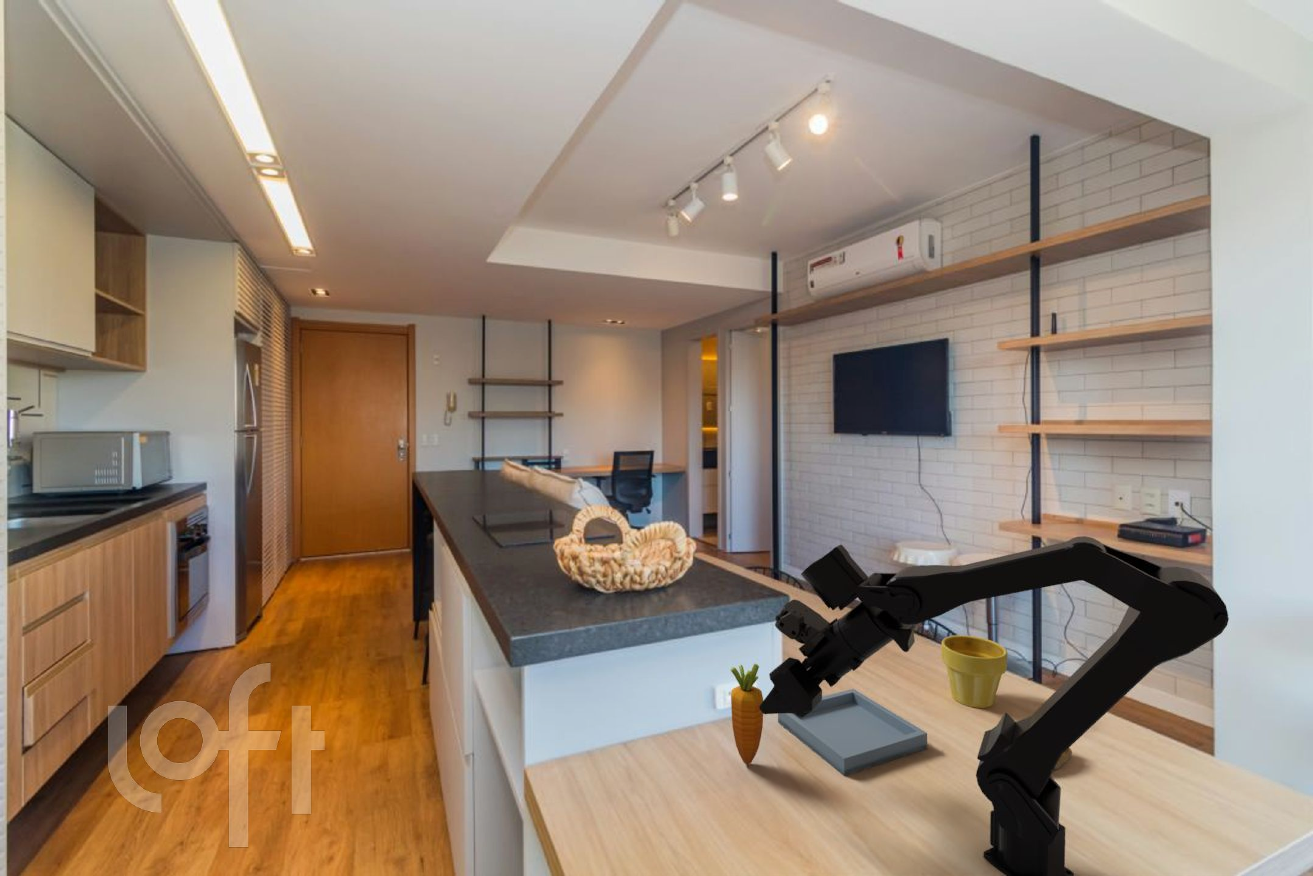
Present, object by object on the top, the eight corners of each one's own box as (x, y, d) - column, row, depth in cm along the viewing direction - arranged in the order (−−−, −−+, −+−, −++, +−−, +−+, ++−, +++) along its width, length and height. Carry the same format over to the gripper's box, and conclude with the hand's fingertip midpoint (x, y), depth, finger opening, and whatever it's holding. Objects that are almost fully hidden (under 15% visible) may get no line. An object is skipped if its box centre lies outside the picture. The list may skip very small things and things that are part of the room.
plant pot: (1014, 717, 100) (1015, 660, 99) (947, 710, 102) (948, 654, 102) (996, 689, 110) (997, 637, 109) (935, 683, 112) (936, 632, 112)
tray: (927, 749, 91) (927, 733, 91) (844, 775, 84) (844, 758, 84) (853, 702, 105) (853, 688, 105) (778, 722, 99) (778, 707, 99)
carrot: (725, 769, 86) (724, 667, 86) (737, 751, 91) (736, 654, 90) (758, 778, 84) (757, 674, 83) (768, 760, 88) (768, 661, 88)
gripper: (835, 571, 88) (766, 629, 95) (784, 605, 73) (707, 671, 80) (890, 635, 84) (814, 690, 91) (848, 685, 69) (760, 747, 75)
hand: (775, 696), depth 84 cm, fingers open, 9 cm apart
